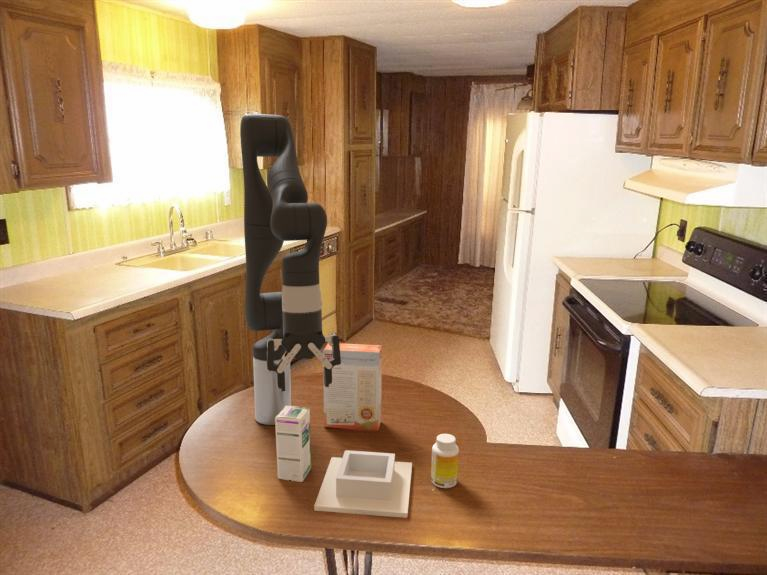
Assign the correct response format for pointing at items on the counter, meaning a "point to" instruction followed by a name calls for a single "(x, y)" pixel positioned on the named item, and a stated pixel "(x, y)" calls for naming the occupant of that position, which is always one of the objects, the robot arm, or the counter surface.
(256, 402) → the robot arm
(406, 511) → the sleeve holder
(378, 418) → the cracker box
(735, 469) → the counter surface
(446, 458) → the supplement bottle
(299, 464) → the syrup box
